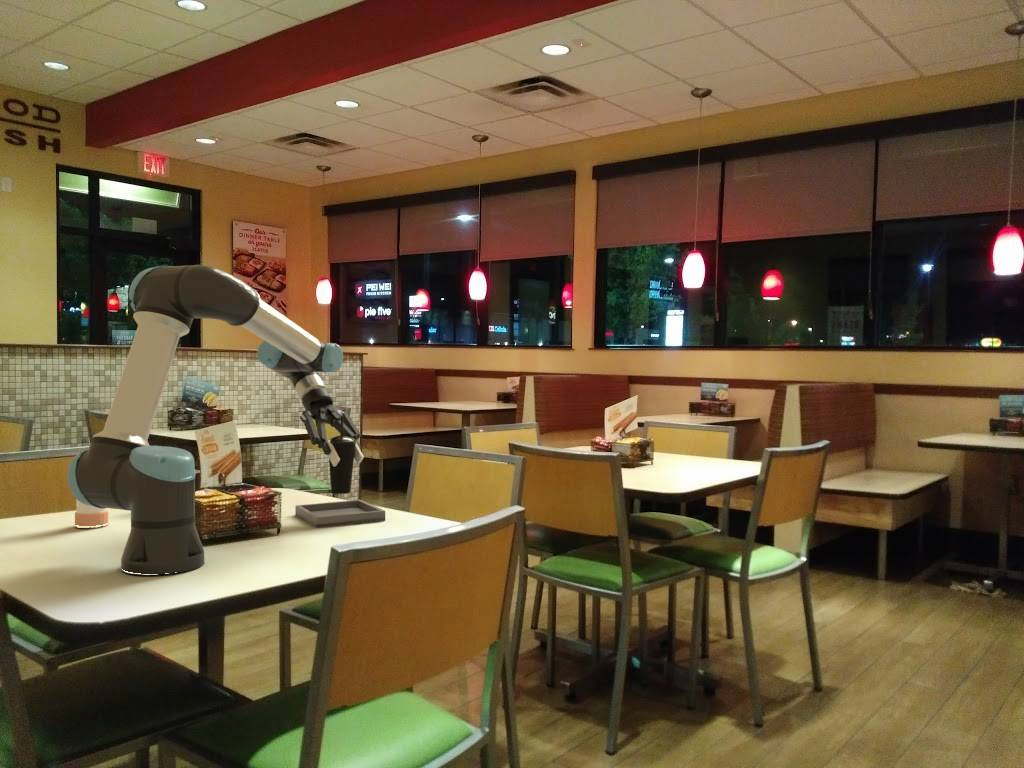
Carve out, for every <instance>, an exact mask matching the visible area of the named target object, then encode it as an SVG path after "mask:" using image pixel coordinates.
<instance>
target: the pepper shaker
mask: <svg viewBox="0 0 1024 768" xmlns="http://www.w3.org/2000/svg"><path fill="white" fill-rule="evenodd" d="M87 449H89V447H88V448H87ZM78 454H80V452H79V453H78ZM75 499H76V498H75ZM75 503H76V506H75V507H76V511H75V513H74V526H75V525H79V526H96V525H103V524H106V523H108V524H109V510H108V508H104V509H101V508H97V507H94V506H89V505H86V504H83V503H81V502H80V501H78V500H77V499H76V502H75Z"/></svg>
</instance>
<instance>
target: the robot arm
mask: <svg viewBox="0 0 1024 768" xmlns="http://www.w3.org/2000/svg"><path fill="white" fill-rule="evenodd" d="M128 292H129V293H128V297H129V300H130V301H131V302H130V307H131V309H132V310H133V311H134V313H133V316H132V317H133V320H134V321H135V322H136V324H137V328H136V330H135V331H136V332H135V334H134V337H133V339H132V343H131V347H130V349H129V352H128V355H127V358H126V361H125V364H124V368H123V371H122V373H121V377H120V378H119V379H120V380H119V383H118V385H117V388H116V391H115V393H114V397H113V400H112V402H111V406H110V408H109V409H110V410H109V412H108V416H107V417H106V421H105V425H104V427H103V430H101V431H100V432H98V433H96V434H93V436H92V437H91V441H90V443H89V446H88V448H89V449H88V448H87V449H83V450H82V451H80V452H79V453H80V454H79V453H77V454H76V455H75V456H74V457H73V458H72V459H71V461H70V463H69V465H68V468H67V475H66V476H67V477H66V478H67V479H66V480H67V484H68V488H69V490H70V491H71V494H72V496H73V497H74V498H75V499H77V500H78V501H80V502H81V503H83V504H86V505H89V506H94V507H97V508H101V509H104V508H107V509H113V510H120V511H121V510H122V511H130V532H129V534H128V538H127V541H126V543H125V547H124V549H123V552H122V556H121V559H120V569H121V568H122V569H123V570H125V571H128V572H133V573H141V574H165V573H175V572H181V573H184V572H183V571H185V572H189V571H193V570H195V569H199V568H200V567H202V566H203V565H204V564H205V549H204V546H203V543H202V541H201V539H200V535H199V532H198V531H197V528H196V527H197V526H196V509H195V477H196V471H195V470H196V468H195V458H194V456H193V454H192V453H191V452H190V451H188V450H186V449H184V448H180V447H174V446H173V447H172V446H162V445H150V444H149V441H148V439H149V437H150V434H151V430H152V427H153V424H154V421H155V417H156V414H157V412H158V411H157V410H158V407H159V404H160V401H161V398H162V395H163V391H164V388H165V385H166V382H167V378H168V376H169V373H170V369H171V366H172V363H173V360H174V357H175V352H176V351H177V350H176V349H177V346H178V343H179V340H180V338H182V337H183V336H186V335H188V334H189V333H190V331H191V327H192V324H193V320H195V319H197V320H198V319H199V320H200V319H201V320H202V319H209V320H210V319H211V320H217V321H222V322H225V323H227V324H228V325H229V326H233V327H242V328H244V329H245V330H246V331H249V332H250V333H252V334H254V335H255V336H256V337H258V338H260V339H261V340H262V342H260V343H259V345H258V347H257V351H256V356H257V360H258V362H259V363H261V365H263V366H265V368H268V369H270V370H272V371H274V372H276V373H278V374H279V375H281V376H283V377H285V378H287V379H288V380H289V381H290V383H291V384H292V386H293V389H294V390H295V392H296V395H297V396H298V398H299V399H300V401H301V404H302V406H303V408H304V410H302V413H301V414H300V416H299V420H301V422H302V423H303V424H304V425H303V426H304V427H305V430H306V432H307V434H308V438H309V441H310V442H311V445H312V446H316V445H317V448H319V449H322V451H323V454H324V455H326V456H327V457H328V460H329V459H330V461H331V463H332V465H333V467H334V466H336V465H337V464H338V462H339V461H340V458H339V456H338V454H337V452H336V450H335V449H334V447H333V445H332V443H330V440H329V439H327V428H326V425H327V424H329V425H330V426H331V428H335V430H336V431H337V433H339V434H340V435H341V416H343V436H348V437H351V438H353V439H355V440H357V442H356V444H355V453H354V461H355V463H356V464H357V465H359V464H361V463H362V461H363V459H364V458H365V456H364V454H363V452H362V450H361V449H362V448H361V445H360V443H359V441H358V440H359V439H360V438H361V436H362V434H361V431H359V429H358V427H357V426H356V424H355V423H354V421H353V419H352V418H351V416H350V415H349V412H348V409H347V408H343V409H342V410H341V409H338V408H337V407H336V406H335V405H334V402H333V401H334V400H333V398H332V396H331V395H330V393H329V390H328V389H327V386H326V385H325V382H324V381H323V379H322V378H321V376H320V374H319V373H324V374H327V373H336V372H338V371H339V370H340V369H342V365H343V361H344V352H343V349H342V348H341V346H340V345H339V344H337V343H333V342H323V341H321V340H320V339H318V338H317V337H315V336H314V335H312V334H311V333H309V332H308V331H307V330H305V329H303V328H302V327H301V326H299V324H297V323H295V322H294V321H292V320H291V319H289V318H288V317H287V316H285V315H284V314H283V313H281V312H279V311H278V310H276V309H275V307H272V306H271V305H270V304H268V303H266V301H264V300H262V299H261V297H260V295H259V294H260V293H258V291H257V290H256V289H254V287H251V286H250V285H248V284H247V283H246V282H245V281H243V280H241V279H239V278H238V277H236V276H234V275H232V274H230V273H228V272H227V271H224V270H222V269H220V268H217V267H214V266H211V265H207V264H194V265H191V264H190V265H176V266H174V265H173V266H172V265H171V266H170V265H159V266H155V267H149V268H146V269H144V270H142V271H141V272H139V273H138V274H136V276H135V277H134V279H133V280H132V281H131V284H130V288H129V291H128ZM314 421H315V422H314ZM175 574H176V573H175Z"/></svg>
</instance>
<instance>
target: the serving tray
mask: <svg viewBox="0 0 1024 768" xmlns="http://www.w3.org/2000/svg"><path fill="white" fill-rule="evenodd" d="M295 516H297V517H298V518H300V519H301V520H303V521H304V522H306V523H308V524H309V525H311V526H313V527H314V528H315V529H318V528H319V529H320V528H328V527H337V526H347V525H357V524H365V523H375V522H382V521H383V522H384V521H386V510H384V509H382V508H381V507H378V506H376V505H373V504H371V503H369V502H366V501H364V500H362V499H353V500H344V501H341V500H340V501H332V502H322V503H320V502H319V503H308V504H298V505H297V504H295Z"/></svg>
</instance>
